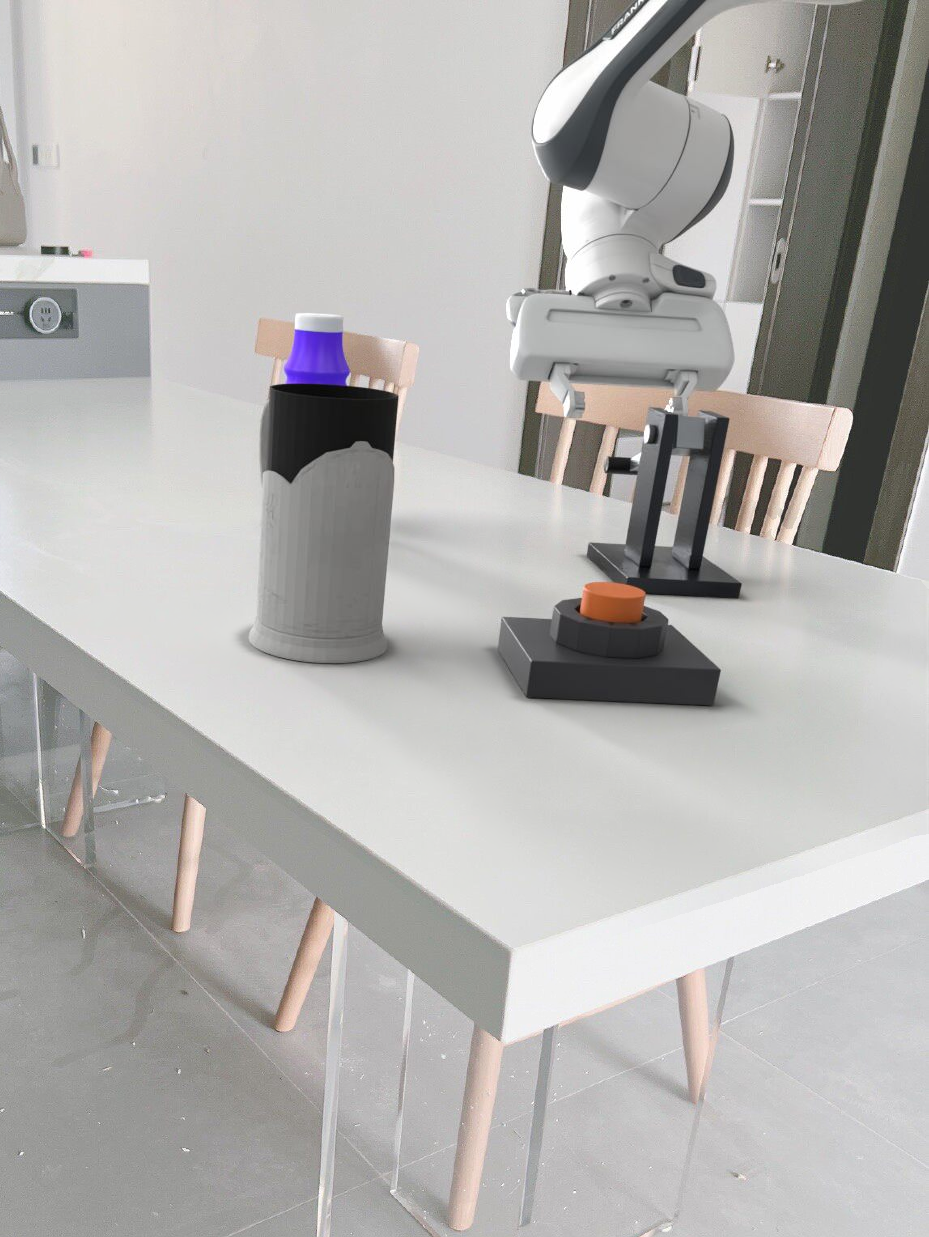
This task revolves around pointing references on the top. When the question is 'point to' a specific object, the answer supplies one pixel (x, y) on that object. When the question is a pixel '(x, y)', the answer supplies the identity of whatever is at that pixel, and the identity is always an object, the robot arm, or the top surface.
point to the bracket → (684, 561)
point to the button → (612, 602)
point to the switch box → (606, 659)
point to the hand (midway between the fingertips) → (626, 417)
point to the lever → (684, 444)
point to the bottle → (317, 351)
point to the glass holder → (324, 521)
